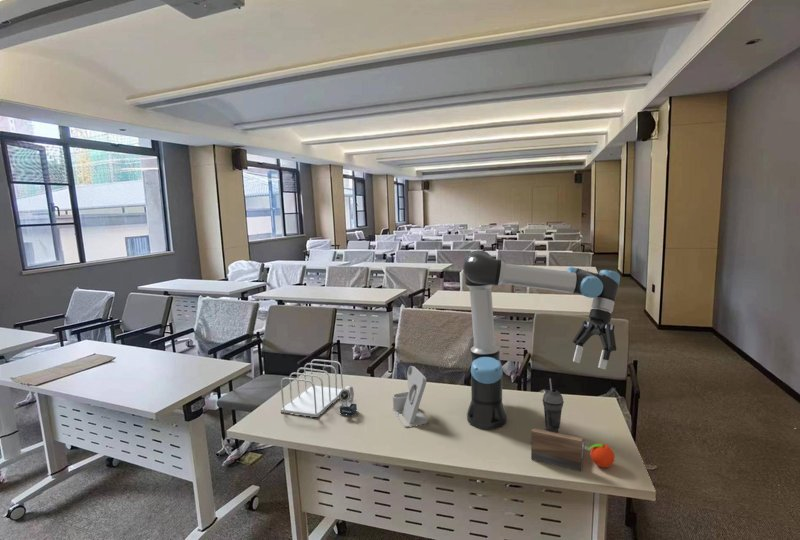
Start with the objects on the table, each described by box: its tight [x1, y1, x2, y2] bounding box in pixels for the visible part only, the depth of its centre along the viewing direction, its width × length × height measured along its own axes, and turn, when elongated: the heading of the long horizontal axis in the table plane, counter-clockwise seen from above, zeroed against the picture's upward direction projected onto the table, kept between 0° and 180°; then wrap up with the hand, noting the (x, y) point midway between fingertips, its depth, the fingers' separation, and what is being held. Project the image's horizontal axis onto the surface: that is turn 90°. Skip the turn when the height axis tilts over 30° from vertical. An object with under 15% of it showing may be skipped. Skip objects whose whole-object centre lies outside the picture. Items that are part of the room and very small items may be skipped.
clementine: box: [587, 442, 616, 468], centre depth 135 cm, size 8×7×7 cm
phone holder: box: [392, 365, 429, 428], centre depth 171 cm, size 17×10×18 cm, turn 18°
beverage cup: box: [542, 378, 565, 433], centre depth 156 cm, size 7×7×20 cm
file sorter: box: [280, 358, 344, 418], centre depth 185 cm, size 25×17×16 cm
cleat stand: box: [530, 428, 586, 472], centre depth 142 cm, size 14×15×10 cm
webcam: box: [338, 385, 358, 416], centre depth 175 cm, size 6×8×11 cm
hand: (588, 365), depth 160 cm, fingers open, 13 cm apart
